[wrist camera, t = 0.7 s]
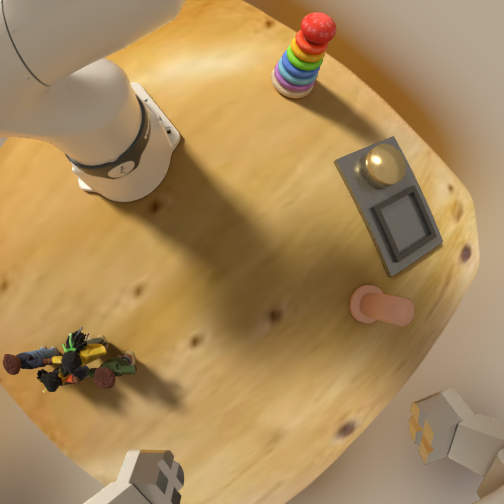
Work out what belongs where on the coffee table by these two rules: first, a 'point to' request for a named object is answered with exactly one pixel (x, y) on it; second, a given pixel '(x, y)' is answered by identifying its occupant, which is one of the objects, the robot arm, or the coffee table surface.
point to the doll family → (73, 362)
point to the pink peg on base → (380, 306)
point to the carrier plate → (390, 203)
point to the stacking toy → (304, 56)
